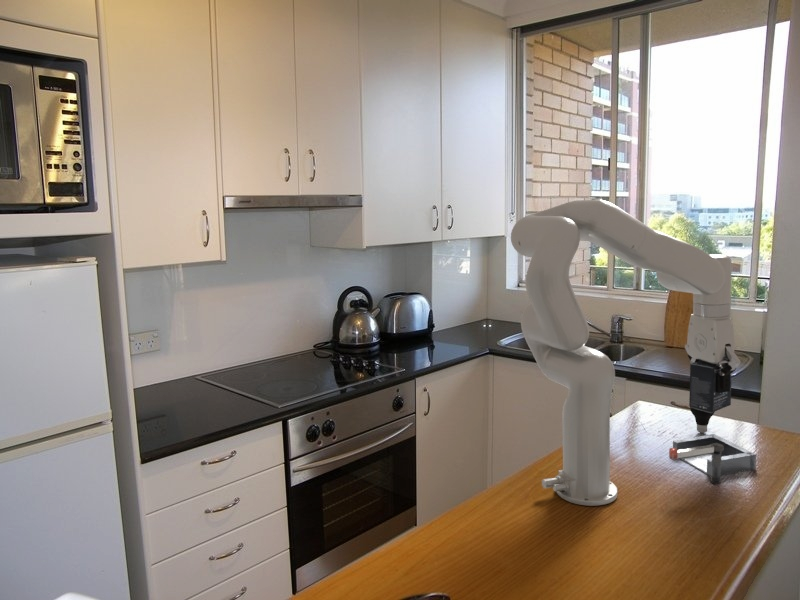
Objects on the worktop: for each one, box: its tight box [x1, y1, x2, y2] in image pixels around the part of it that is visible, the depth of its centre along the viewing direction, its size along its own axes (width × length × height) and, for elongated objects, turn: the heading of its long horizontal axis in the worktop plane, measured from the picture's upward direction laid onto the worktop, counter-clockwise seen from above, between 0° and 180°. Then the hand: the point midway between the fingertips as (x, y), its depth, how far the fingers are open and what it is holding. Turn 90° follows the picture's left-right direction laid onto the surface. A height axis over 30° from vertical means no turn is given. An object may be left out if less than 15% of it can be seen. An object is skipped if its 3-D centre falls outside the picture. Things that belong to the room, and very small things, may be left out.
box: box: [688, 360, 733, 413], centre depth 141 cm, size 8×6×11 cm
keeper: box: [672, 433, 757, 485], centre depth 141 cm, size 13×16×7 cm
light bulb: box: [689, 407, 715, 435], centre depth 160 cm, size 6×6×10 cm
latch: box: [668, 443, 724, 460], centre depth 131 cm, size 13×3×2 cm, turn 103°
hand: (710, 386), depth 141 cm, fingers closed on box, 7 cm apart
